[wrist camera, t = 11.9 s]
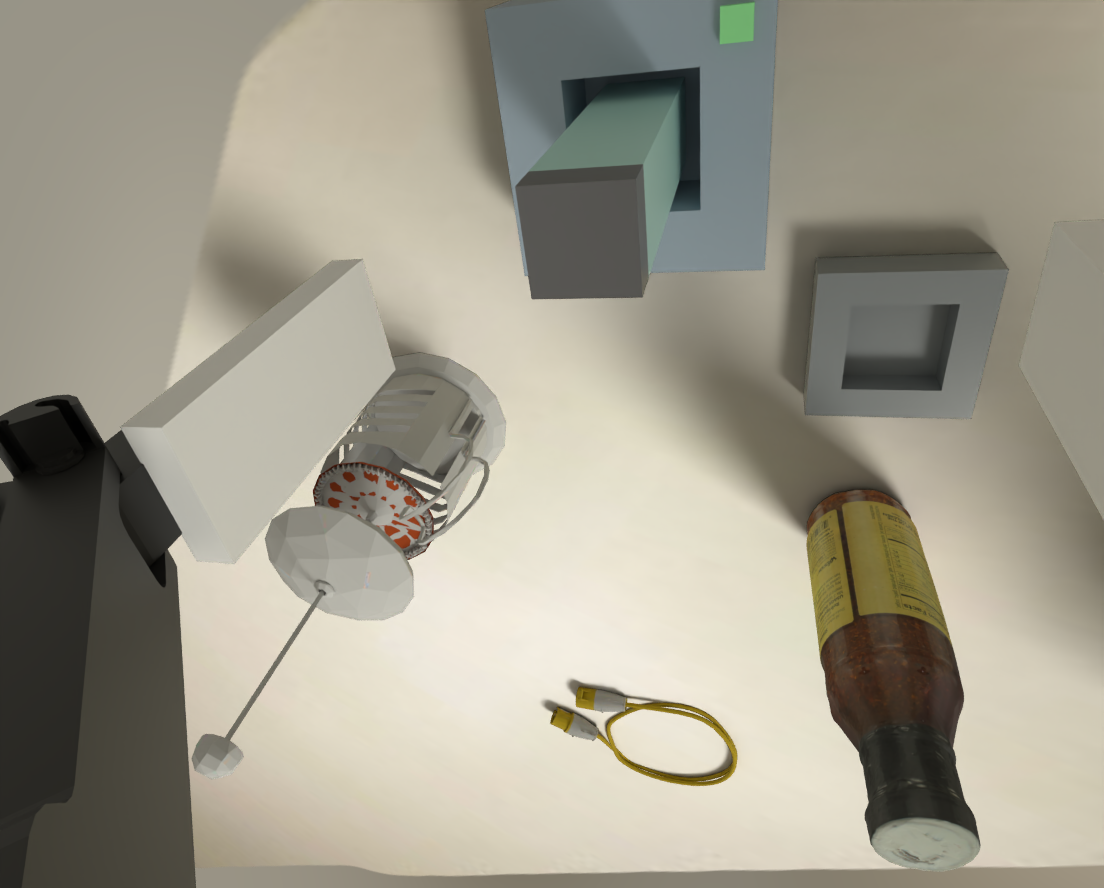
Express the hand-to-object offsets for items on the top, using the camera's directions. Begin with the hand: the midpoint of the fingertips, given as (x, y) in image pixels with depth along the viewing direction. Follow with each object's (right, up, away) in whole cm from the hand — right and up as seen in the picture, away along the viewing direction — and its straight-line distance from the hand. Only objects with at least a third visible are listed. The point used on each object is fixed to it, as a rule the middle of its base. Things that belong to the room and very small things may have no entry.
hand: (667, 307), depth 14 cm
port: (+2, +13, +19) cm, 23 cm away
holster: (+15, +3, +23) cm, 27 cm away
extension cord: (+6, -27, +49) cm, 56 cm away
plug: (+2, +12, +19) cm, 23 cm away
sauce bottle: (+17, -7, +30) cm, 35 cm away
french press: (-9, -1, +33) cm, 34 cm away
